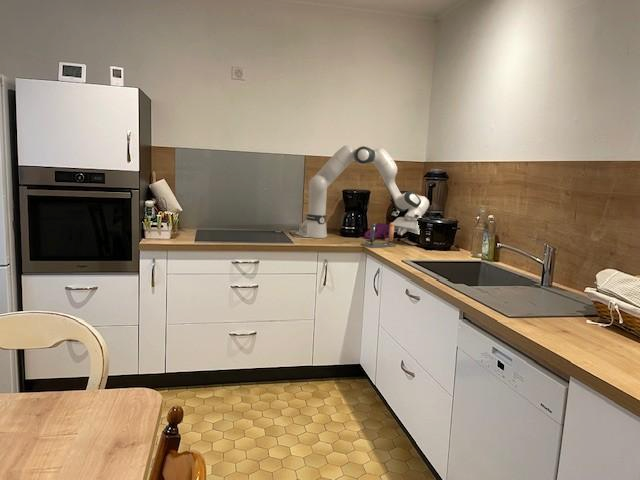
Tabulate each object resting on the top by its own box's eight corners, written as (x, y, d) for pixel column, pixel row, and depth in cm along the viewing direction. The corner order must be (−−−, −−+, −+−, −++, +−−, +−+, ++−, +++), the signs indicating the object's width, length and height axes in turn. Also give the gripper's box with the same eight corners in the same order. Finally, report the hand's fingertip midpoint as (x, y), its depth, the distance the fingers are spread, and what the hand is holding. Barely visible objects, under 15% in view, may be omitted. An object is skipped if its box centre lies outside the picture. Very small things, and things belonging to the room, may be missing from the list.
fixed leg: (365, 243, 278) (366, 222, 277) (369, 242, 280) (370, 221, 278) (371, 244, 274) (373, 223, 272) (375, 244, 276) (377, 223, 274)
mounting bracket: (375, 249, 307) (391, 235, 318) (373, 237, 304) (389, 224, 314) (364, 246, 314) (380, 233, 324) (361, 235, 310) (378, 222, 321)
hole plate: (360, 245, 279) (361, 241, 279) (383, 243, 291) (384, 239, 291) (372, 248, 272) (372, 243, 271) (395, 246, 283) (396, 242, 283)
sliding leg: (384, 241, 288) (385, 221, 286) (387, 241, 290) (389, 221, 288) (390, 242, 284) (392, 222, 282) (394, 242, 285) (395, 222, 284)
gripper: (397, 212, 300) (384, 228, 296) (422, 216, 284) (409, 233, 280) (401, 219, 304) (389, 235, 299) (426, 223, 288) (414, 240, 283)
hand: (399, 234), depth 289 cm, fingers closed
